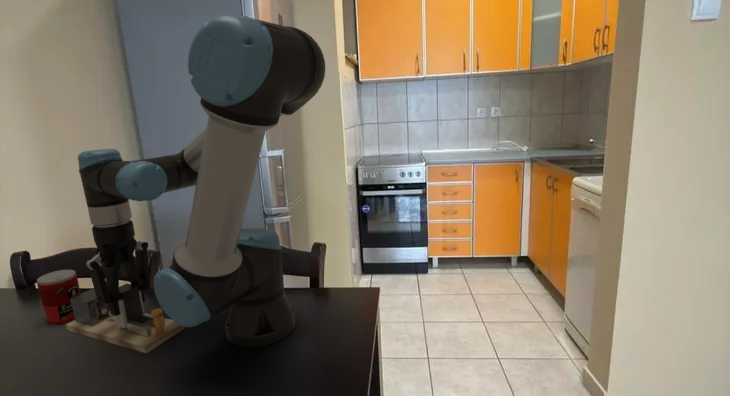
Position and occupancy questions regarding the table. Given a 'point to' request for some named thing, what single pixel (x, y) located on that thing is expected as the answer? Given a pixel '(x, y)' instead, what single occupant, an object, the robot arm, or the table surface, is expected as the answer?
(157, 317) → the keeper post
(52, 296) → the canned food
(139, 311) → the two-pronged fork block
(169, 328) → the rail board
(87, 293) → the block
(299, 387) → the table surface
